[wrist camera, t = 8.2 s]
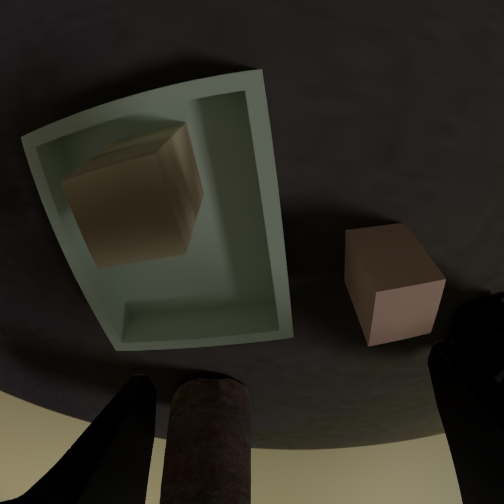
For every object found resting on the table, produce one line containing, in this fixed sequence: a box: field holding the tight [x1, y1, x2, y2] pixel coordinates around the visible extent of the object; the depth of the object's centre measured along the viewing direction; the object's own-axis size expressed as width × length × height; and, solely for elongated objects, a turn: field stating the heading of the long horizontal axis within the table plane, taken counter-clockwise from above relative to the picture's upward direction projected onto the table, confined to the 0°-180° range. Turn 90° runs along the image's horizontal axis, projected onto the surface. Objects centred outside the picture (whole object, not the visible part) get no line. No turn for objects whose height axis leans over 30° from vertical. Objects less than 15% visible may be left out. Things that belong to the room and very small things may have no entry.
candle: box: [160, 378, 251, 504], centre depth 20 cm, size 8×7×20 cm
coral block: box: [344, 223, 446, 346], centre depth 18 cm, size 4×4×6 cm
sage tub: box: [21, 69, 294, 351], centre depth 17 cm, size 15×12×4 cm
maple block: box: [61, 122, 204, 269], centre depth 14 cm, size 4×4×6 cm
